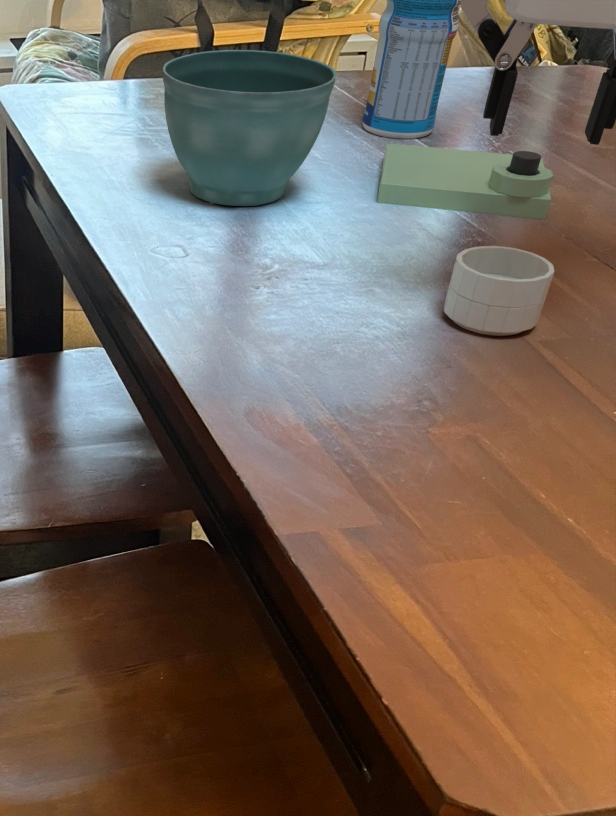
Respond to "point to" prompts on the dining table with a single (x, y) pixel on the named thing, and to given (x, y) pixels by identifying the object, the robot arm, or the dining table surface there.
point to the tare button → (524, 163)
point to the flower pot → (244, 120)
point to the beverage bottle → (410, 67)
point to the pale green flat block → (462, 182)
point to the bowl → (498, 290)
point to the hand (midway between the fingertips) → (543, 132)
